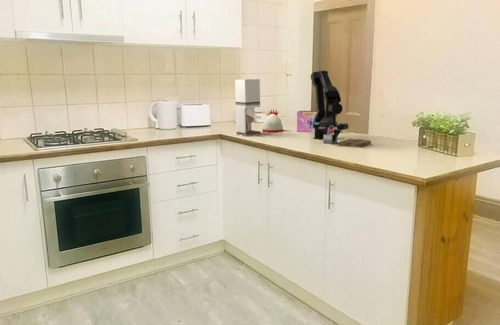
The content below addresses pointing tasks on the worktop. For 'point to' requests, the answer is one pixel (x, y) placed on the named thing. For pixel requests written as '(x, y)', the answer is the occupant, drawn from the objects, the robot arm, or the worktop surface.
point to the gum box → (307, 121)
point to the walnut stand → (355, 143)
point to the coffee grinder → (246, 105)
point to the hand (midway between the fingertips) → (330, 141)
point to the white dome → (272, 123)
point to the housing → (329, 139)
